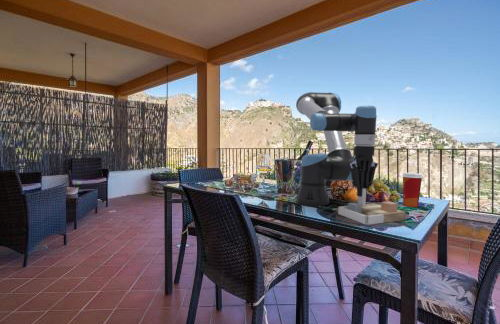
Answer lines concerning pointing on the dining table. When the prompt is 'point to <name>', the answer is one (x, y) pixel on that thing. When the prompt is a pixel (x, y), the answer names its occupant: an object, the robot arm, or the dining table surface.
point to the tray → (360, 216)
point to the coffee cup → (411, 189)
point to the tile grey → (354, 207)
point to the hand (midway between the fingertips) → (361, 204)
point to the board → (376, 210)
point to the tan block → (389, 206)
